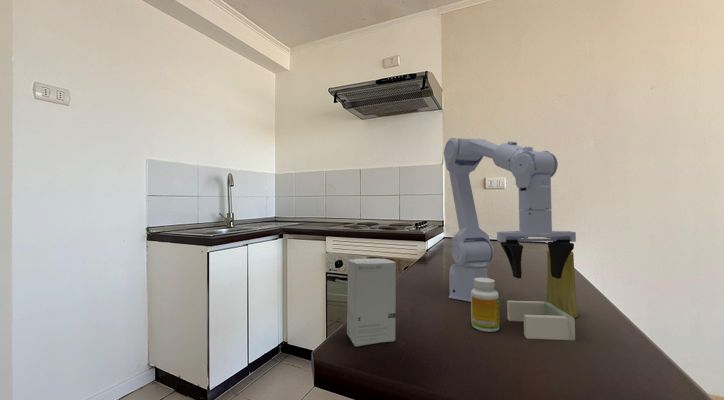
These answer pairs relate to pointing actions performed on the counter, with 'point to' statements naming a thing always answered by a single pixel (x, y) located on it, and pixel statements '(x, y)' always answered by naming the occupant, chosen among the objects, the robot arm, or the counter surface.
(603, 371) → the counter surface
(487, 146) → the robot arm
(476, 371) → the counter surface
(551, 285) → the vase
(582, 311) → the counter surface
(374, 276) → the skincare box
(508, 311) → the bracket
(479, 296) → the supplement bottle
